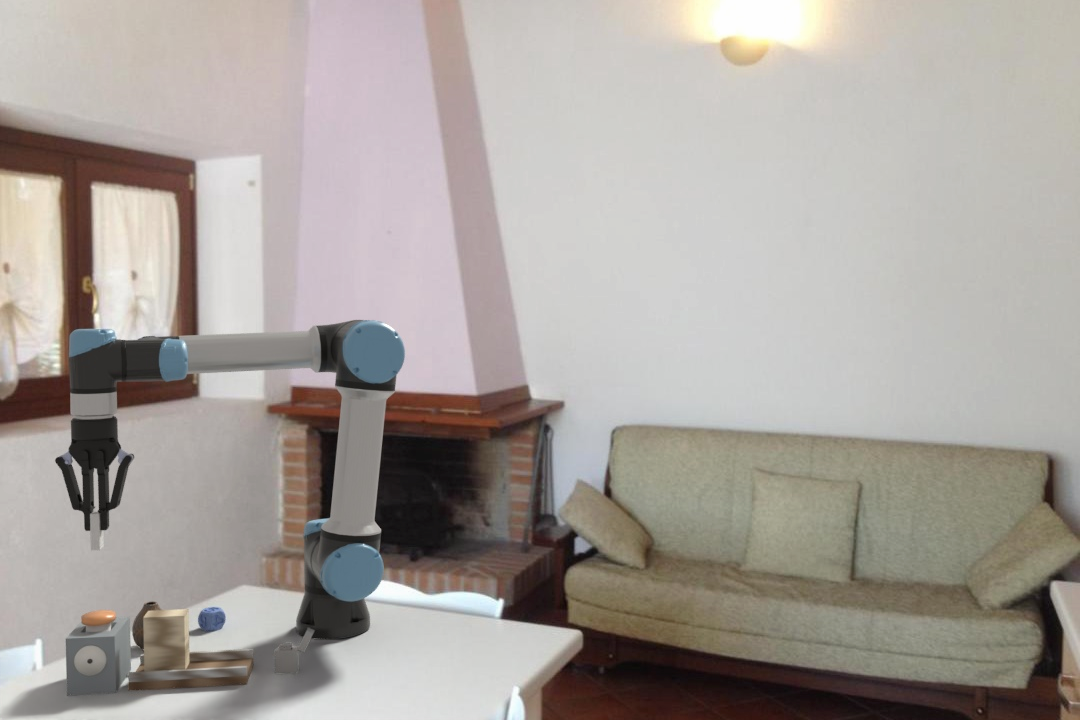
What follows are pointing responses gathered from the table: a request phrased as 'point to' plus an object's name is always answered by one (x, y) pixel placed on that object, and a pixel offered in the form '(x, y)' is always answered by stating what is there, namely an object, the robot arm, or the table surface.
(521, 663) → the table surface
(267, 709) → the table surface
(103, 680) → the cabinet
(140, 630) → the vase
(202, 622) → the decorative dice
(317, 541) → the robot arm
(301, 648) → the lighter
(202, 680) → the rail board
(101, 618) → the plunger
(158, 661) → the beige wooden block
